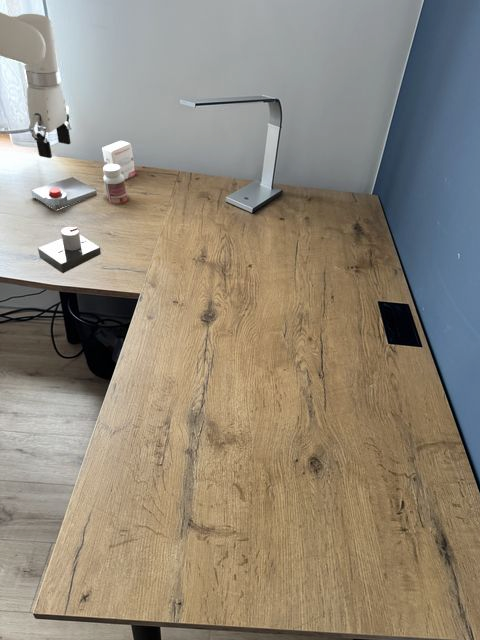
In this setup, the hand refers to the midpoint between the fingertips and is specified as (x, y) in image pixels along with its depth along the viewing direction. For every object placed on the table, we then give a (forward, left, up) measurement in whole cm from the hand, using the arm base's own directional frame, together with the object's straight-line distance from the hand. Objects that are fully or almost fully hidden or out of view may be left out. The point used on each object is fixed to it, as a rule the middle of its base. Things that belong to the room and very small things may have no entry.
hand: (55, 149), depth 130 cm
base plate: (-9, -13, -22) cm, 27 cm away
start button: (+5, +12, -19) cm, 23 cm away
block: (+10, +16, -22) cm, 29 cm away
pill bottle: (+20, +3, -22) cm, 31 cm away
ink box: (+31, +14, -22) cm, 41 cm away
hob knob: (-8, -13, -19) cm, 25 cm away
